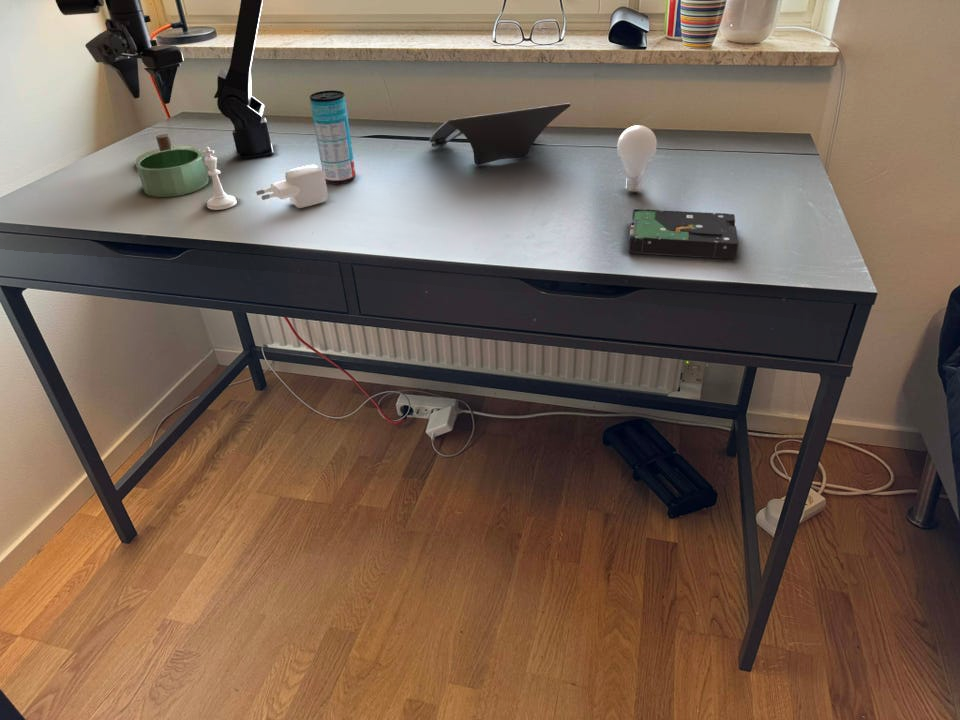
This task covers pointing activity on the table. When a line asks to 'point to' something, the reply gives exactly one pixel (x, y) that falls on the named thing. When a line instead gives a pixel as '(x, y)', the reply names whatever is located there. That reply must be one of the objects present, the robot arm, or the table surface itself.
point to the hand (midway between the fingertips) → (151, 100)
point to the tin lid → (164, 146)
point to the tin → (172, 172)
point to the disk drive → (683, 233)
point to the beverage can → (333, 136)
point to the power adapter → (300, 187)
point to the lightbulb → (636, 154)
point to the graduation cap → (499, 132)
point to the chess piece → (217, 185)
